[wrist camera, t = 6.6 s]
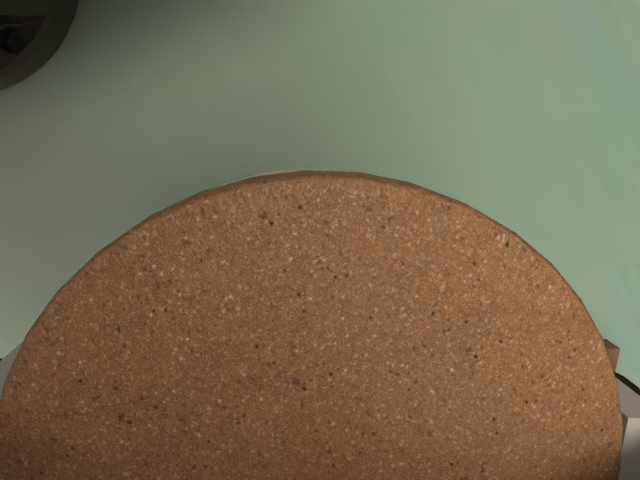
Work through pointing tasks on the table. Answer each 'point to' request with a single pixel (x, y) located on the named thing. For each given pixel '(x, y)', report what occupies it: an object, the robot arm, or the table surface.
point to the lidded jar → (313, 347)
